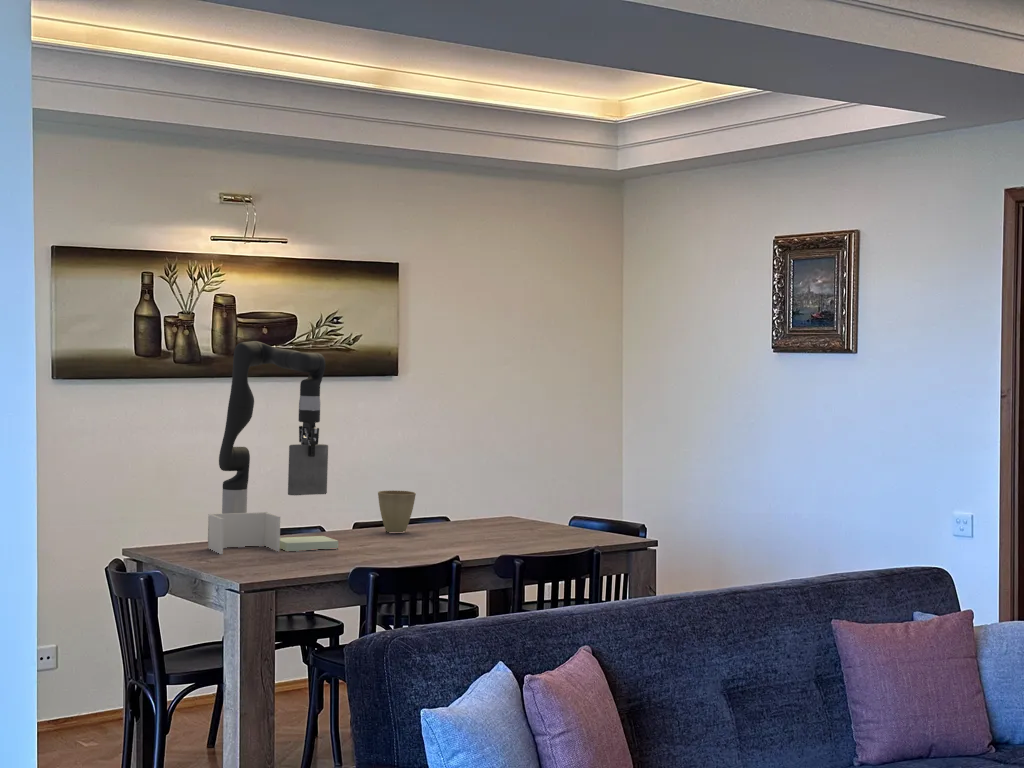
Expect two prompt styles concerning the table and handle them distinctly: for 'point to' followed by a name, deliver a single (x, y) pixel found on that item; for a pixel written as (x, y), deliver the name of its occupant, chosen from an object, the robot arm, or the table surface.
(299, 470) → the flask
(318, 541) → the stand
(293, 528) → the table surface
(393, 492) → the plant pot
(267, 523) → the bay
